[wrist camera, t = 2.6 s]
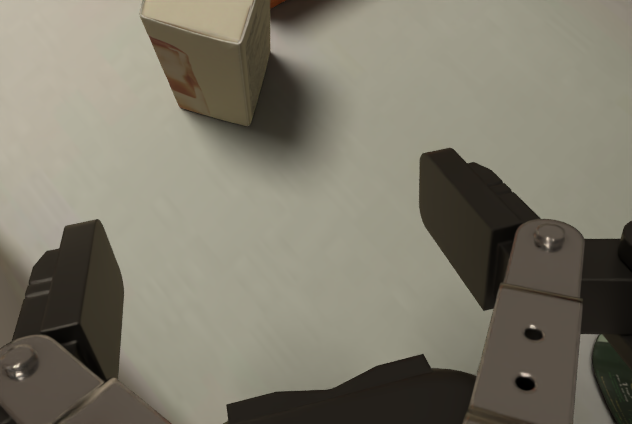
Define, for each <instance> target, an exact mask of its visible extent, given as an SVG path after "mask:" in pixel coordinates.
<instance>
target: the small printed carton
mask: <svg viewBox="0 0 632 424" xmlns="http://www.w3.org/2000/svg"><path fill="white" fill-rule="evenodd" d="M139 15H140V18H141V20H142V22H143V24H144V27H145V29H146V31H147V34H148V35H149V38H150V40H151V42H152V45H153V47H154V50H155V52H156V54H157V57H158V59H159V61H160V64H161V66H162V68H163V70H164V73H165V75H166V77H167V79H168V82H169V84H170V87H171V89H172V91H173V94H174V96H175V98H176V100H177V103H178V105H179V107H181V108H183V109H186V110H189V111H193V112H196V113H199V114H203V115H206V116H210V117H213V118H217V119H220V120H224V121H228V122H232V123H236V124H240V125H244V126H249V125H250V124H251V121H252V118H253V115H254V111H255V108H256V104H257V101H258V97H259V94H260V90H261V86H262V83H263V79H264V75H265V71H266V67H267V63H268V59H269V54H270V0H143V1H142V5H141V9H140V13H139Z"/></svg>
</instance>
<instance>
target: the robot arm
mask: <svg viewBox="0 0 632 424" xmlns="http://www.w3.org/2000/svg"><path fill="white" fill-rule="evenodd" d="M419 208H420V214H421V218H422V221H423V223H424V225H425V227H426V229H427V230H428V232H429V233H430V234H431V236H432V237H433V239H434V240H435V242H436V243H437V245H438V246H439V247H440V249H441V250H442V252H443V253H444V255H445V256H446V257H447V259H448V260H449V262H450V263H451V265H452V266H453V268H454V269H455V270H456V272H457V273H458V275H459V276H460V278H461V279H462V280H463V282H464V283H465V285H466V286H467V288H468V289H469V290H470V292H471V293H472V295H473V296H474V298H475V299H476V301H477V302H478V303H479V305H480V306H481V308H482V309H483V311H485V310H489V309H493V308H494V310H493V314H492V318H491V322H490V326H489V330H488V334H487V337H486V341H485V345H484V349H483V353H482V357H481V361H480V365H479V369H478V373H477V376H475V375H473V374H469V373H465V372H462V371H457V370H451V369H440V368H431V367H430V366H429V364H428V362H427V360H426V358H425V356H424V354H421V355H417V356H413V357H409V358H406V359H402V360H398V361H394V362H390V363H386V364H382V365H378V366H376V367H374V368H372V369H370V370H368V371H366V372H364V373H362V374H360V375H358V376H356V377H354V378H352V379H351V380H349V381H347V382H345V383H343V384H341V385H339V386H337V387H335V388H333V389H329V390H309V391H282V392H274V393H270V394H266V395H262V396H258V397H254V398H250V399H246V400H243V401H239V402H235V403H231V404H227V413H228V421H227V422H225V423H223V424H573V415H574V403H575V391H576V379H577V367H578V355H579V343H580V334H602V335H603V336H604V337H605V338H606V340H607V341H608V342H609V343H610V345H611V346H612V347H613V348H614V350H615V351H616V352H617V353H618V354H619V356H620V357H621V358H622V359H623V361H624V362H625V363H626V364H627V366H628V367H629V368H630V369H631V371H632V221H630V222H629V223H627V224H626V225H625V226H624V229H623V232H622V236H621V239H584V237H583V236H582V234H581V233H580V232H579V231H578V230H577V229H576V228H574V227H573V226H571V225H569V224H566V223H564V222H561V221H557V220H551V219H541V218H539V217H538V216H537V215H536V214H535V213H534V212H533V211H532V210H531V209H530V208H529V207H528V206H527V205H526V204H525V203H524V202H523V201H522V200H521V199H520V198H519V197H518V196H517V195H516V194H515V193H514V192H512V191H511V189H510V188H509V187H508V186H507V185H506V184H505V183H503V182H502V180H501V179H500V178H499V177H498V176H497V175H496V174H495V173H494V172H493V171H492V170H490V169H488V168H486V167H483V166H481V165H479V164H477V163H475V162H472V163H466V162H465V161H464V160H463V159H462V158H461V157H460V156H459V155H458V153H457V152H456V151H455V150H454V149H452V148H446V149H441V150H436V151H432V152H427V153H423V154H422V155H421V157H420V179H419ZM123 301H124V286H123V280H122V276H121V272H120V269H119V266H118V263H117V261H116V258H115V256H114V253H113V251H112V248H111V245H110V243H109V240H108V238H107V235H106V232H105V230H104V227H103V225H102V223H101V221H100V220H98V219H96V220H92V221H87V222H82V223H77V224H72V225H67V226H65V228H64V231H63V236H62V240H61V244H60V248H59V249H55V250H50V251H46V252H45V254H44V255H43V256H42V257H41V258H40V259H39V261H38V262H37V263H36V264H35V265H34V267H33V269H32V273H31V276H30V280H29V286H28V287H27V290H26V293H25V299H24V300H23V304H22V307H21V311H20V314H19V318H18V321H17V325H16V328H15V332H14V335H13V339H12V342H10V343H8V344H6V345H5V346H3V347H2V348H0V424H171V423H170V422H169V421H168V420H167V419H165V418H164V417H163V416H162V415H160V414H159V413H158V412H157V411H156V410H154V409H153V408H152V407H151V406H149V405H148V404H147V403H146V402H145V401H143V400H142V399H141V398H140V397H138V396H137V395H136V394H135V393H134V392H132V391H131V390H130V389H129V388H127V387H126V386H125V385H124V384H123V383H121V382H120V381H119V380H118V372H119V358H120V344H121V329H122V315H123Z"/></svg>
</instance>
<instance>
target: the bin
mask: <svg viewBox="0 0 632 424" xmlns="http://www.w3.org/2000/svg"><path fill="white" fill-rule="evenodd" d="M284 1H286V0H270V9H271V8H273V7H275V6H277V5H278V4H280V3H282V2H284Z"/></svg>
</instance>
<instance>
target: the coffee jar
mask: <svg viewBox="0 0 632 424" xmlns="http://www.w3.org/2000/svg"><path fill="white" fill-rule="evenodd" d="M593 366H594V371H595V375H596V378H597V380H598V383H599V386H600V388H601V390H602V393H603V395H604V397H605V399H606V402H607V405H608V406H609V408H610V410H611V413H612V414H613V416H614V418H615V420H616V422H617V423H618V424H632V371H631V369H630V368H629V367H628V366H627V364H626V363H625V362H624V361H623V359H622V358H621V357H620V356H619V354H618V353H617V352H616V351H615V350H614V348H613V347H612V346H611V345H610V343H609V342H608V341H607V340H606V338H605V337H604V336H603V335H602V334H600V335H599V336H598V338H597V341H596V343H595V345H594V350H593Z"/></svg>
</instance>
